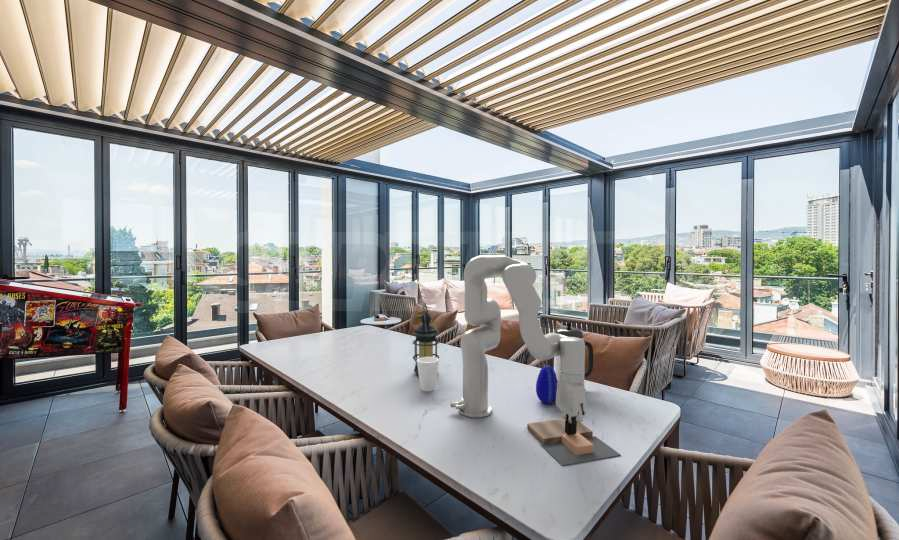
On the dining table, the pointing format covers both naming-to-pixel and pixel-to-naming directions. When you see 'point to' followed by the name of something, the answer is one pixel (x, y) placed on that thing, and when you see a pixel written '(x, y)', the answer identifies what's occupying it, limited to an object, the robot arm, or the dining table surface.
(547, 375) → the ornament
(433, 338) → the lantern
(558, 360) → the coffee press
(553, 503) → the dining table surface
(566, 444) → the tile
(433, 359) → the foam cup
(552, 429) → the deck
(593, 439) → the mat
